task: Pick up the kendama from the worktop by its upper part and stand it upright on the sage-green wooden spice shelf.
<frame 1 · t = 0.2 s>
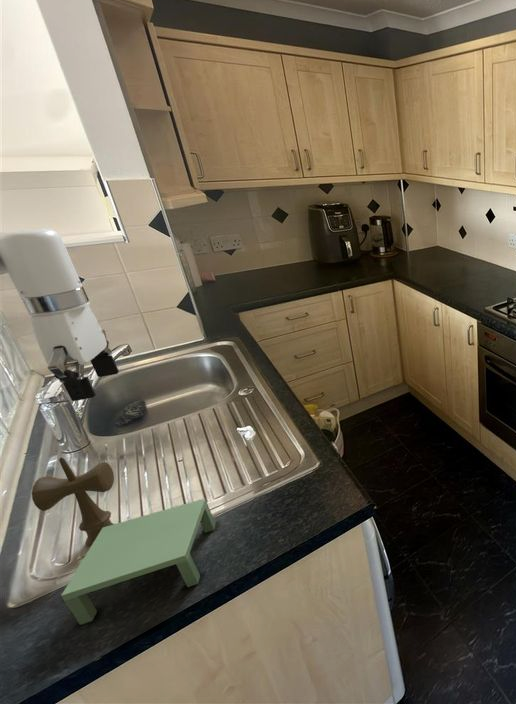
hand: (97, 386, 77), 30 cm above the worktop, tool pointing down, fingers open, 9 cm apart
kendama: (105, 538, 81), on the worktop
spice shelf: (156, 568, 74), on the worktop
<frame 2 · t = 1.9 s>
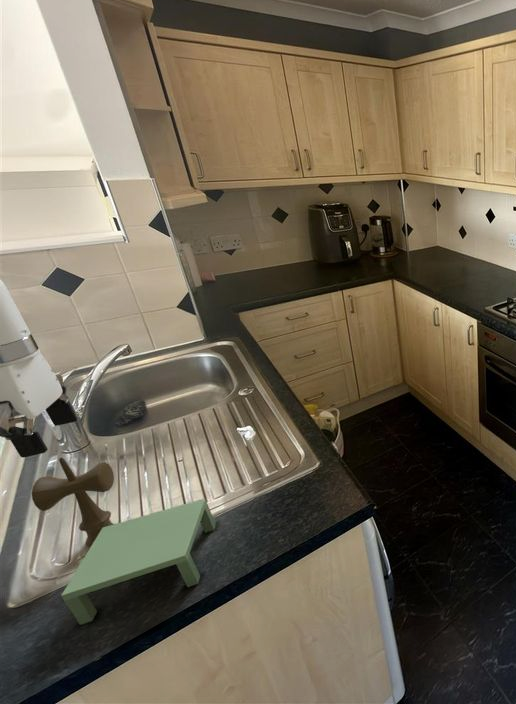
hand: (51, 437, 72), 24 cm above the worktop, tool pointing down, fingers open, 9 cm apart
nothing on the worktop moved.
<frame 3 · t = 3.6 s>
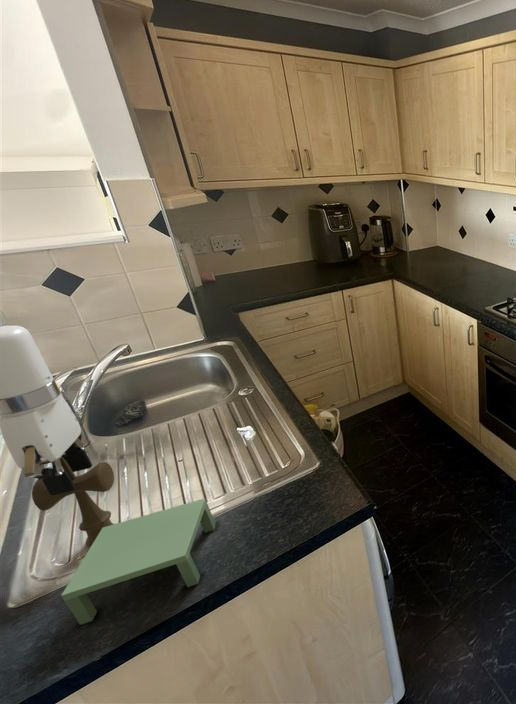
hand: (72, 479, 76), 15 cm above the worktop, tool pointing down, fingers closed on kendama, 5 cm apart
kendama: (105, 538, 81), on the worktop, touching gripper
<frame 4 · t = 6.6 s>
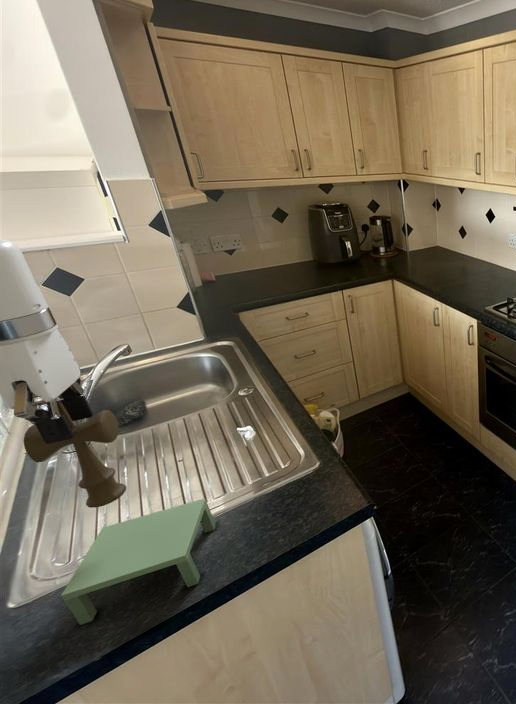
hand: (71, 428, 66), 30 cm above the worktop, tool pointing down, fingers closed on kendama, 5 cm apart
kendama: (108, 499, 71), point 15 cm above the worktop, touching gripper
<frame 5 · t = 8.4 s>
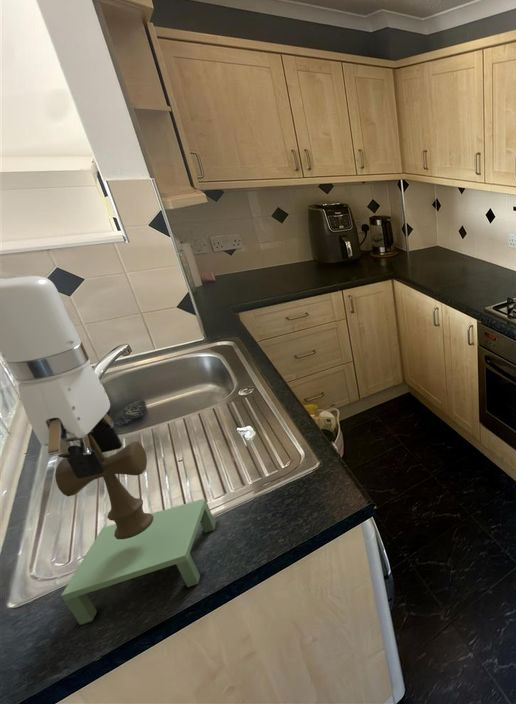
hand: (101, 460, 65), 25 cm above the worktop, tool pointing down, fingers closed on kendama, 5 cm apart
kendama: (136, 530, 71), point 10 cm above the worktop, touching gripper
when the fingers open (22 cm above the worktop, at t = 9.7 s): kendama stays where it is, resting on spice shelf.
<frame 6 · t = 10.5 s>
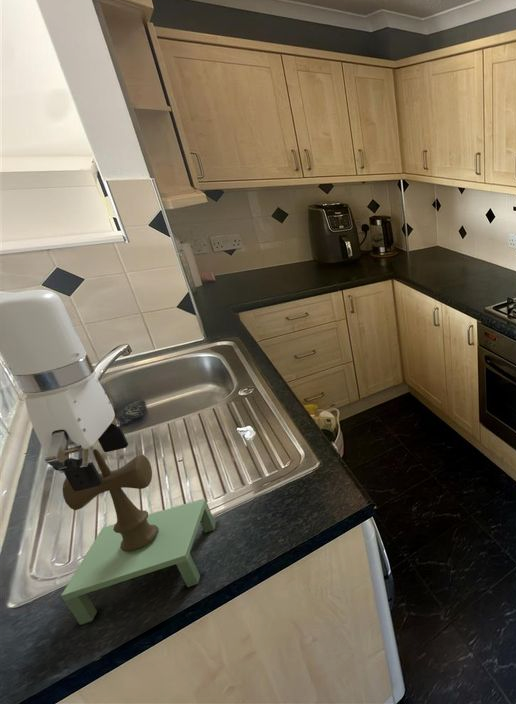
hand: (103, 466, 66), 23 cm above the worktop, tool pointing down, fingers open, 9 cm apart
kendama: (141, 541, 72), point 7 cm above the worktop, touching spice shelf
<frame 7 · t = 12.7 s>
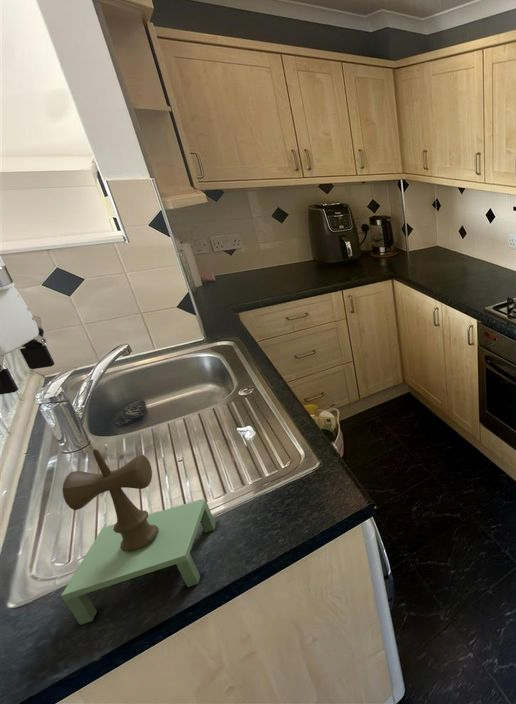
hand: (24, 379, 69), 36 cm above the worktop, tool pointing down, fingers open, 9 cm apart
nothing on the worktop moved.
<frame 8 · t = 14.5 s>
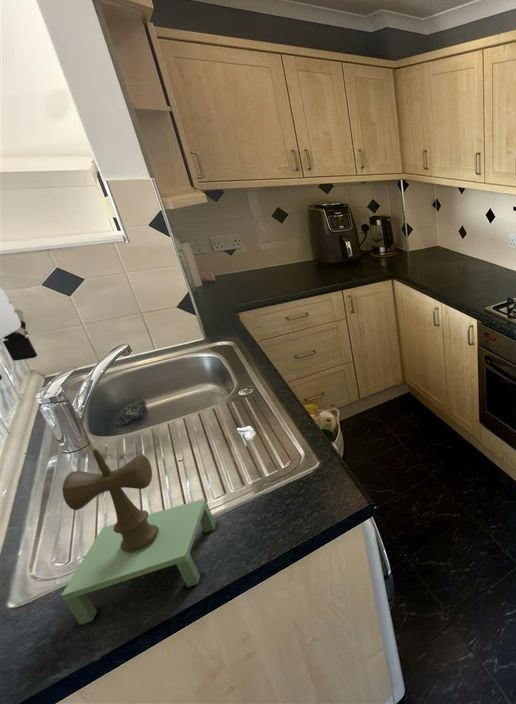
hand: (8, 369, 72), 36 cm above the worktop, tool pointing down, fingers open, 9 cm apart
nothing on the worktop moved.
at the end: kendama inside the target area on the spice shelf (0.1 cm from its centre), point 6.8 cm above the spice shelf's base; kendama tilted 0°; the gripper is holding nothing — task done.
